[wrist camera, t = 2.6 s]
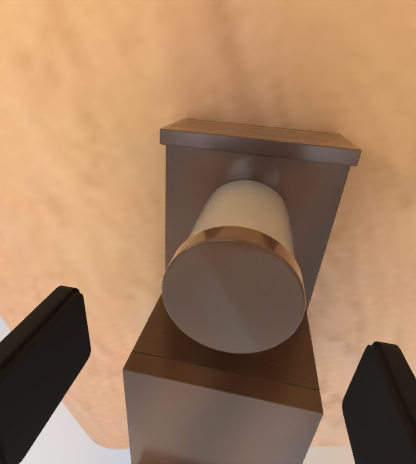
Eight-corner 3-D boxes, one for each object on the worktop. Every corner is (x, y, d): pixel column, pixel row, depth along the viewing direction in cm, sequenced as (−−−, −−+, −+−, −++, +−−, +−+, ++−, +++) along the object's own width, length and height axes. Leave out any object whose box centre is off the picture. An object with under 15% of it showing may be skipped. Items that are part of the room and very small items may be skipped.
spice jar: (301, 183, 16) (323, 252, 10) (282, 266, 19) (289, 366, 12) (203, 171, 17) (161, 227, 10) (197, 253, 19) (161, 340, 13)
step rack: (339, 134, 18) (456, 217, 7) (274, 376, 29) (278, 567, 18) (184, 118, 20) (65, 167, 8) (176, 356, 30) (120, 521, 19)
